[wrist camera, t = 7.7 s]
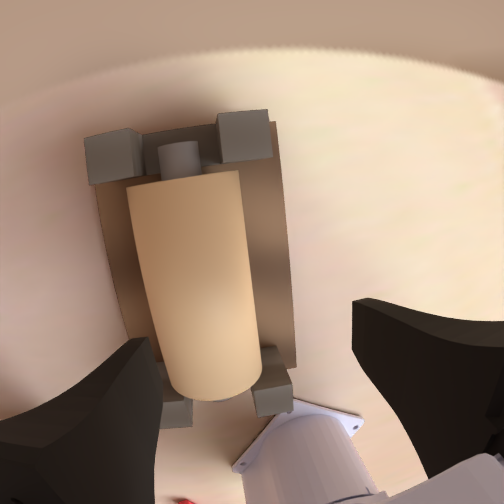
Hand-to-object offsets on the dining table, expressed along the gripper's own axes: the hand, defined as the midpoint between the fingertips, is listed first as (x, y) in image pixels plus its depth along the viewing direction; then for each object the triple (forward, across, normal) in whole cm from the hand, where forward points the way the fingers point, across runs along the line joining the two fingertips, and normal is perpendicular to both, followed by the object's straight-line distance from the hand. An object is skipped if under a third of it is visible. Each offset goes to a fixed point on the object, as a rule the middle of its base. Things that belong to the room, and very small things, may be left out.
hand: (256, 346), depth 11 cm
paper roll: (+5, +2, -1) cm, 5 cm away
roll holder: (+8, +2, -1) cm, 9 cm away
